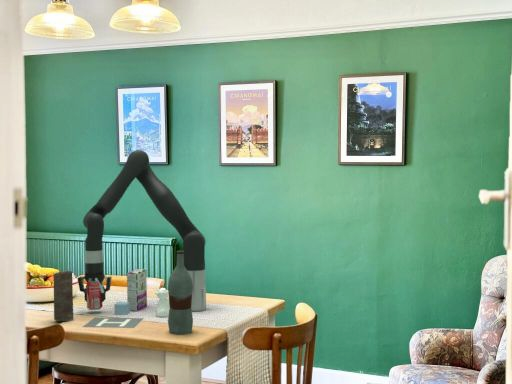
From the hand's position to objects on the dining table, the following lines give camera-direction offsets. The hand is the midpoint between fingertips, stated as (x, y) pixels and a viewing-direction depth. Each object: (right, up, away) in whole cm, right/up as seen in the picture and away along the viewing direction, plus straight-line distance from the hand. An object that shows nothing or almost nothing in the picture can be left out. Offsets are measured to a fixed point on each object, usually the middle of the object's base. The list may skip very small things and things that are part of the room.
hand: (95, 301), depth 274 cm
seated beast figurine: (+29, -6, -5) cm, 30 cm away
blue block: (+11, -5, -1) cm, 13 cm away
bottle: (+39, -7, -29) cm, 49 cm away
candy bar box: (+15, -5, +11) cm, 20 cm away
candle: (-9, -6, -13) cm, 17 cm away
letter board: (+11, -6, -17) cm, 22 cm away
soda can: (0, -3, 0) cm, 3 cm away
